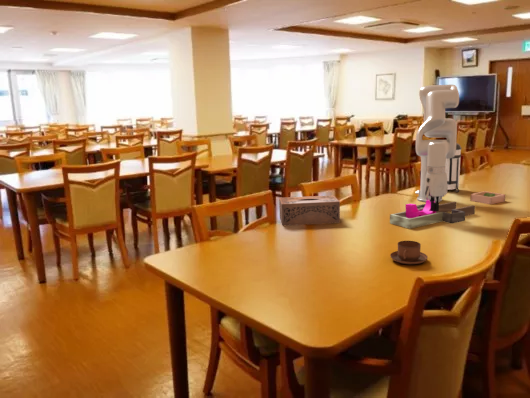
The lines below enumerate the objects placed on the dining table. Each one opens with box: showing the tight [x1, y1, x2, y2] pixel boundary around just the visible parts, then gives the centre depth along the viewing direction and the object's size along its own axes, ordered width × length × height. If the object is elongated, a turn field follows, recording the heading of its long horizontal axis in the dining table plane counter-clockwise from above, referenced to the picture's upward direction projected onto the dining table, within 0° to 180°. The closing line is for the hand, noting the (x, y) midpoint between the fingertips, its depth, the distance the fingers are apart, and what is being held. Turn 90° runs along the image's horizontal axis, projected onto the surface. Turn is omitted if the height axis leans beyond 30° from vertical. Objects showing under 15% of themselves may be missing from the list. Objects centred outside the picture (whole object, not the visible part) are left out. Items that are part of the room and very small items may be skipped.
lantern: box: [445, 142, 463, 193], centre depth 271 cm, size 17×16×30 cm
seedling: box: [484, 192, 495, 197], centre depth 240 cm, size 6×7×6 cm
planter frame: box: [469, 190, 506, 205], centre depth 244 cm, size 12×12×4 cm
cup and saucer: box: [390, 240, 429, 265], centre depth 160 cm, size 12×12×6 cm
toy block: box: [405, 200, 436, 218], centre depth 212 cm, size 15×6×8 cm, turn 120°
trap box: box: [389, 201, 476, 230], centre depth 214 cm, size 21×42×4 cm, turn 120°
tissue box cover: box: [278, 195, 341, 226], centre depth 218 cm, size 26×14×10 cm, turn 93°
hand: (434, 210), depth 213 cm, fingers closed
